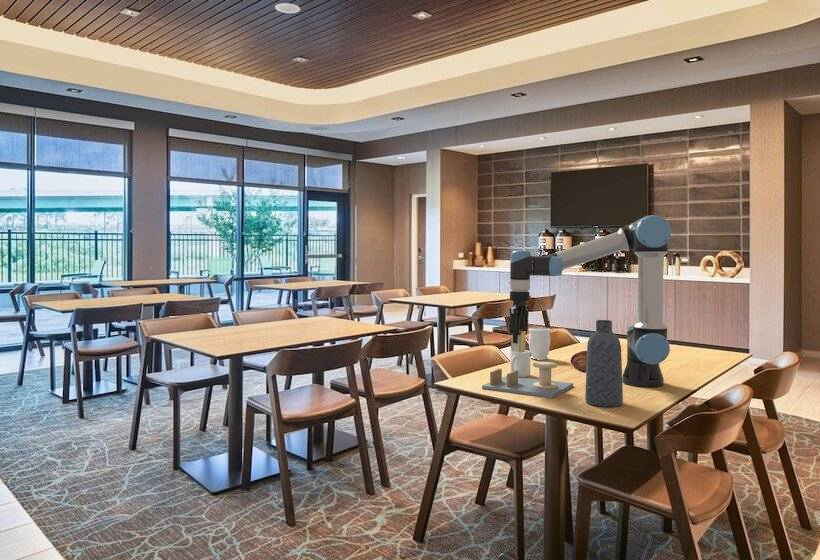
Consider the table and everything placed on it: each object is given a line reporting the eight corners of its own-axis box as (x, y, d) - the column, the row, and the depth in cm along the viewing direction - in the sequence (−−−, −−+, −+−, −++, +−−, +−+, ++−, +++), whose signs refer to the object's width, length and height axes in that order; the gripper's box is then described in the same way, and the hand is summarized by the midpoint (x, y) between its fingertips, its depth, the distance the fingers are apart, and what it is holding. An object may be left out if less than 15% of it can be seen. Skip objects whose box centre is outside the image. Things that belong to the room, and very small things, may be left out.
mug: (520, 379, 236) (519, 354, 236) (502, 377, 241) (502, 352, 241) (533, 375, 245) (533, 350, 245) (516, 372, 251) (516, 349, 250)
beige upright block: (525, 351, 224) (525, 330, 224) (520, 352, 221) (521, 331, 221) (515, 350, 227) (516, 330, 226) (511, 351, 224) (511, 331, 223)
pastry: (613, 370, 254) (613, 352, 254) (583, 373, 249) (583, 354, 249) (589, 364, 270) (589, 347, 270) (561, 366, 265) (561, 349, 265)
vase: (608, 409, 189) (608, 323, 188) (577, 402, 198) (577, 320, 197) (630, 403, 196) (630, 320, 195) (599, 397, 206) (599, 318, 205)
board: (573, 386, 223) (573, 361, 223) (552, 398, 205) (552, 370, 204) (506, 378, 239) (506, 354, 238) (482, 388, 221) (481, 363, 220)
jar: (524, 358, 287) (524, 328, 286) (543, 356, 290) (543, 327, 289) (535, 361, 277) (535, 330, 276) (554, 360, 280) (554, 329, 279)
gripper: (520, 289, 232) (519, 347, 233) (501, 291, 218) (499, 352, 219) (537, 290, 228) (536, 349, 229) (519, 292, 214) (518, 354, 215)
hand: (518, 350), depth 224 cm, fingers closed on beige upright block, 4 cm apart
